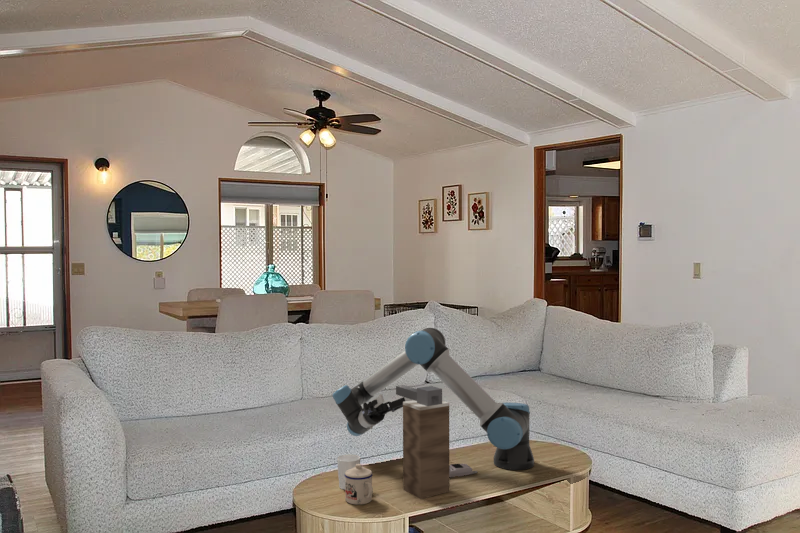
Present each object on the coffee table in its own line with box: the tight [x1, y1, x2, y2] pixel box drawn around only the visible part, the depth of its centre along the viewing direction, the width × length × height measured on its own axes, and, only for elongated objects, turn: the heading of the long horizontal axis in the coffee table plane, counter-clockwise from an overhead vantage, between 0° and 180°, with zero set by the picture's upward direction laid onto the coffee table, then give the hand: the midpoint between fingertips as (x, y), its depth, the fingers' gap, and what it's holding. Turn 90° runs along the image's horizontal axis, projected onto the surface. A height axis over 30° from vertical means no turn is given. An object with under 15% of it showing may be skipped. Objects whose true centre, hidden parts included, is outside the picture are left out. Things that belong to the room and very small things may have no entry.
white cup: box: [336, 454, 361, 491], centre depth 238 cm, size 8×8×10 cm
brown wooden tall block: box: [402, 400, 450, 500], centre depth 233 cm, size 10×12×30 cm
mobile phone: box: [449, 463, 478, 478], centre depth 249 cm, size 6×6×25 cm
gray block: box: [395, 384, 443, 406], centre depth 237 cm, size 21×6×5 cm, turn 34°
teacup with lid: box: [344, 463, 374, 506], centre depth 224 cm, size 12×9×12 cm
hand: (398, 395), depth 246 cm, fingers open, 13 cm apart
